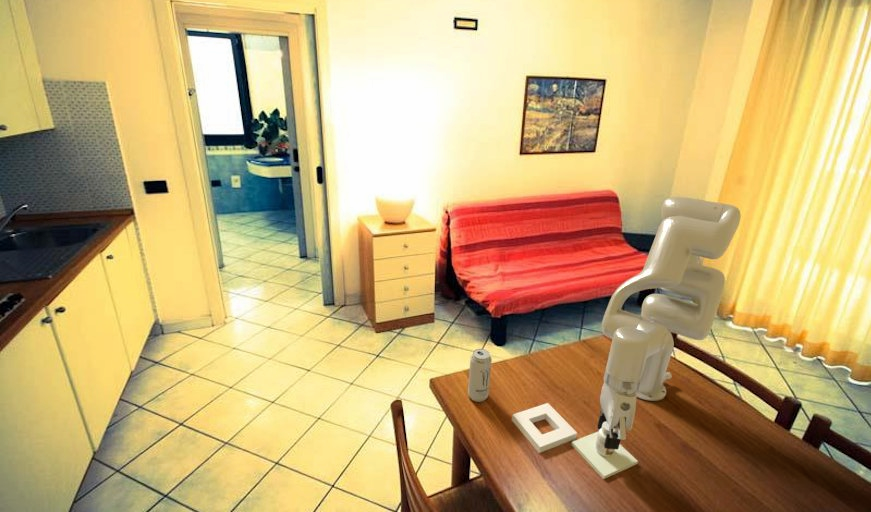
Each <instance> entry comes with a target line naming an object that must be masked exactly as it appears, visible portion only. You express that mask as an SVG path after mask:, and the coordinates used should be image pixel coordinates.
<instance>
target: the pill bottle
mask: <svg viewBox="0 0 871 512" xmlns="http://www.w3.org/2000/svg"><path fill="white" fill-rule="evenodd" d="M598 431H599V432H598ZM598 431H597V432H598V436H597V441H596V445H595V449H596V451H597V452H598V453H599V454H601V455H603V456H606V457H610V456H612V455H613V453H614V450H615V449H607V448H605V447H604V444H605V439H606V435H607V434H609V425H608V422H607V421H605V422H603V424H602V428H601V429H598ZM613 433H618V429H617V428H613Z"/></svg>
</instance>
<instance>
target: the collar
mask: <svg viewBox="0 0 871 512" xmlns="http://www.w3.org/2000/svg"><path fill="white" fill-rule="evenodd" d="M511 417H512V418H511V422H512V423H514V425H515V426H516V427H517V429H519V430H520V432H521V433H522V434H523V435H524V436H525V438H526V440H527V441H528V442H529V443H530V444H531V445H532V446H533V448H534V450H536V451H537V453H538V454H541V453H542V452H546V451H549V450H551V449H553V448H556V447H558V446H561V445H564V444H567V443H569V442H572V441H575V440H577V436H578V432H577V431H576V430H575V429H574V428H573V427H572V426H571V425H570V424H569V423H568V422H567V421H566V420H565V419H564V418H563V417H562V416H561V414H559V413H558V412H557V411H556V410H555V409H554V407H552V406H551V405H550V403H549V402H546V403H543V404H541V405H540V404H539V405H537V406H534V407H531V408H527V409H526V410H522V411H519V412H515V413H513V414H512V416H511ZM543 420H546V422H547V423H548V424H549V425H550V426H551V428H553V430H551V431H549V432H546V433H543V434H542V433H541V431H540V430H539V429H538V428H537V427H536V426H535V424H534V423H537V422H540V421H543Z"/></svg>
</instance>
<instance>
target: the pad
mask: <svg viewBox="0 0 871 512" xmlns="http://www.w3.org/2000/svg"><path fill="white" fill-rule="evenodd" d="M598 432H599V430H598V431H596V432H593V433H591V434H588V435H586V436H583V437H580V438H576V439H574V440H572V441H571V446H572V447H573V448H574V449H575V451H577V452H578V453H579V455H580V456H581V457H582V458H583V459H584V461H586V462H587V463H588V465H590V466H591V468H592V469H593V470H594V471H595V472H596V473H597V474H598V475H599V477H600V478H601V479H603V480H605V479H607V478H609V477H612V476H614V475H616V474H618V473H621V472H622V471H625V470H627V469H629V468H631V467H634V466H636V465H637V464H638V459H636V458H635V457H634V455H632V454H631V453H630V452H629V451H628V450H627V449H626V448H625V447H623V445H622V444H621V443H620V444H619V448H618V449H615V450H614V453H613V455H612V456H610V457H606V456H603V455H601V454H599V453H598V452H597V451H596V449H595V445H596V441H597V436H598Z"/></svg>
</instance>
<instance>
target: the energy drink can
mask: <svg viewBox="0 0 871 512" xmlns="http://www.w3.org/2000/svg"><path fill="white" fill-rule="evenodd" d="M491 371H492V356H491V353H490V352H489V351H488V350H487V349H484V348H483V349H482V348H478V349H475V350H474V351H473V352H472V354H471V356H470V361H469V373H468V387H467V394H468V397H469V398H470V399H471V400H472V401H474V402H477V403H483V402H484V401H486V399H488V398H489V391H490V380H491Z"/></svg>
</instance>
